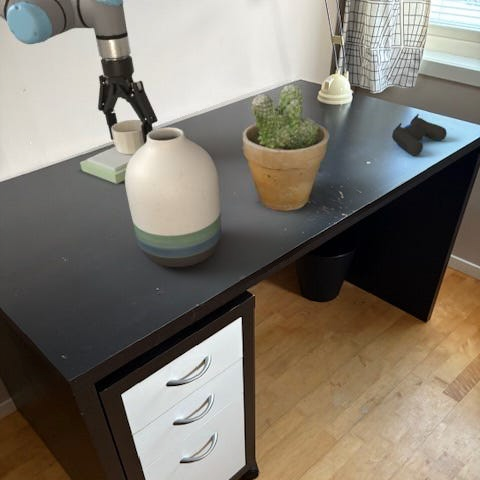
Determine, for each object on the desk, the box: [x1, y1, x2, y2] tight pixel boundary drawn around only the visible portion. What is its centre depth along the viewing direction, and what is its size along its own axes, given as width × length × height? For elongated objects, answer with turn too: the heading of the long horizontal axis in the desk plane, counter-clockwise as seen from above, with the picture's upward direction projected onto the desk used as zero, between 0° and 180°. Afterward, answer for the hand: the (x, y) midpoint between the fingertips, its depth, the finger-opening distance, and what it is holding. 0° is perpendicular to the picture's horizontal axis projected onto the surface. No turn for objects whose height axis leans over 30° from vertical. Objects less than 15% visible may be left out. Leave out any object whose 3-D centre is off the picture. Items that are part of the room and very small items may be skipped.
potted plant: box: [242, 83, 330, 212], centre depth 104 cm, size 18×19×25 cm
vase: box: [124, 126, 222, 268], centre depth 89 cm, size 17×17×24 cm
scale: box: [79, 145, 134, 185], centre depth 131 cm, size 14×26×3 cm, turn 142°
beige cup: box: [111, 119, 144, 154], centre depth 128 cm, size 9×9×6 cm
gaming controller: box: [391, 113, 448, 157], centre depth 131 cm, size 17×6×10 cm
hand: (132, 143), depth 129 cm, fingers open, 13 cm apart
